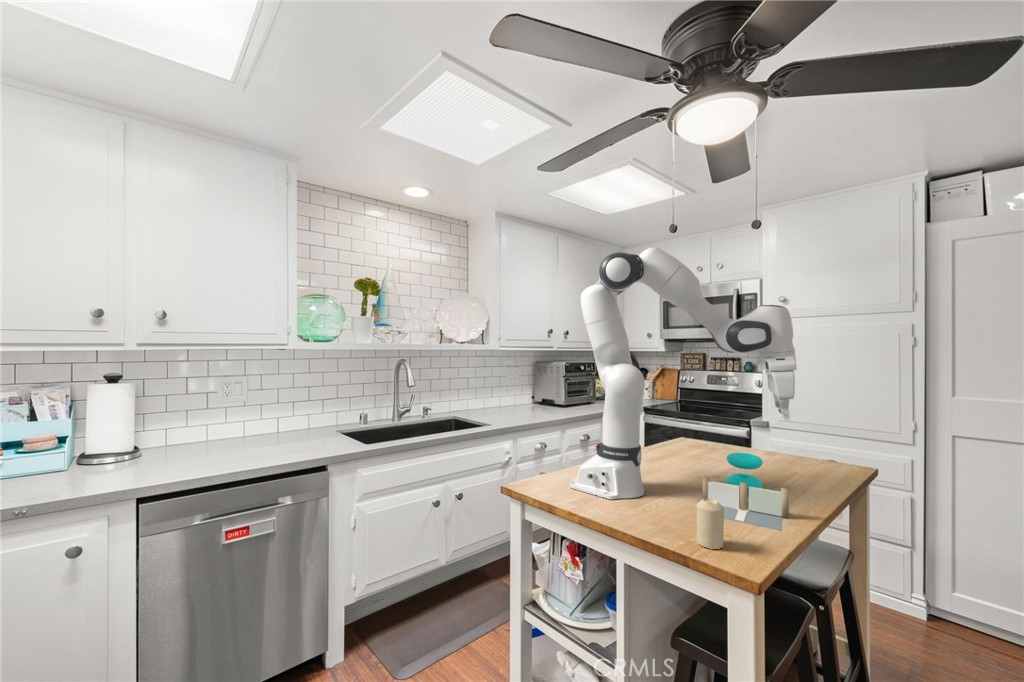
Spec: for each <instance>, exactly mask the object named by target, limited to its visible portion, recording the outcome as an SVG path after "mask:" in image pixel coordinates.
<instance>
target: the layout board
mask: <svg viewBox="0 0 1024 682" xmlns="http://www.w3.org/2000/svg"><path fill="white" fill-rule="evenodd" d="M722 507H723V508H724V520H728V521H732V522H738V523H741V524H742V523H743V524H747V525H751V526H755V527H756V526H757V527H761V528H766V529H771V530H775V531H780V532H781V530H782V524H783V523H782V522H783V517H782V516H777V515H772V514H766V513H761V512H756V511H751V510H749V501H747V510H741V509H740V508H739V509H735V508H730V507H725V506H722Z"/></svg>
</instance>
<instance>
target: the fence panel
mask: <svg viewBox="0 0 1024 682" xmlns="http://www.w3.org/2000/svg"><path fill="white" fill-rule="evenodd" d="M748 502H749V510H751V511H756V512H761V513H766V514H772V515H777V516H782V518H785V519H786V518H789V517H790V513H789V511H790V489H789V488H786V487H785V488H784V487H781V488H780V490H779V491H778V490H771V489H768V488H767V489H766V488H755V487H750V486H749V491H748Z"/></svg>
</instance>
